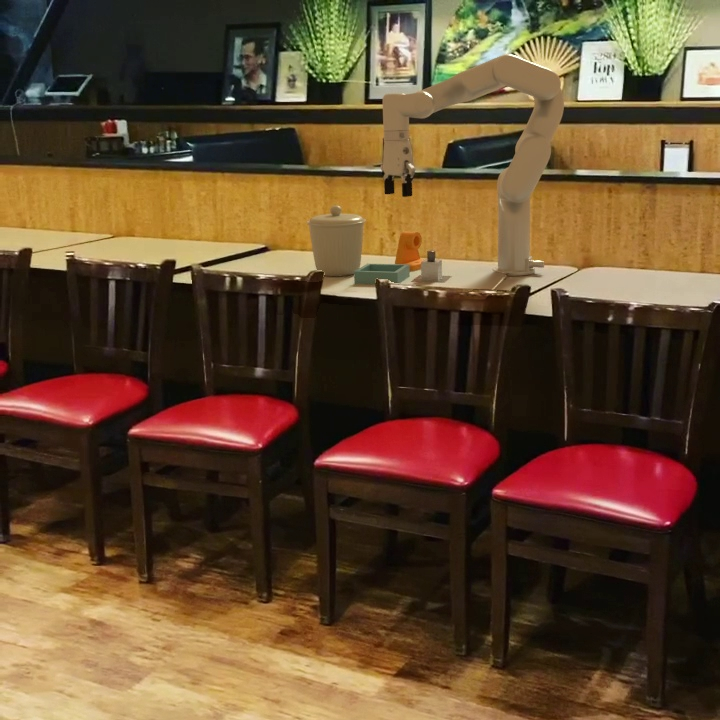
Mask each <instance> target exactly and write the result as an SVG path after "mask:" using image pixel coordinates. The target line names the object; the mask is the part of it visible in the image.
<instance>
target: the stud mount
mask: <svg viewBox="0 0 720 720" xmlns="http://www.w3.org/2000/svg"><path fill="white" fill-rule="evenodd" d="M452 277H453V275H442V278H441V279H439V280H438V281H434V280H421V274H420V275H418V276H416V277H415V278H414V279H412V280H411V281H410V282H411V283H413V282H414V283H439V284H440V283H441V284H442V283H443V284H444V283H446V282H447V281H448V280H450V279H451V278H452Z"/></svg>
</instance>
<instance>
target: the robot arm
mask: <svg viewBox="0 0 720 720" xmlns="http://www.w3.org/2000/svg"><path fill="white" fill-rule="evenodd" d="M561 82H562V81H561V78H560V76H559V75H558V74H557V73H556V72H555V71H554V70H552V69H549V68H547V67H544V66H541V65H539V64H536V63H534V62H530V61H529V60H526V59H523V58H522V57H519V56H517V55H514V54H510V53H507V54H503V55H500V56H497V57H495V58H492V59H489V60H487V61H485V62H482V63H480V64H478V65H476V66H474V67H473V66H472V67H471V68H469V69H465V70H463V71H461V72H458V73H457V74H455V75H453V76H451V77H450V78H449V77H448V79H445V80H442V81H441V82H438V83H436V84H433V85H431V86H429V87H426V88H424V89H422V90H421V89H420V90H419V91H416V92H412V93H401V92H400V93H399V92H398V93H396V92H395V93H386V94H384V95H383V97H382V121H383V126H382V127H383V155H382V158H383V159H382V160H383V161H382V164H380V170H381V176H382V179H383V181H384V182H383V183H384V187H383V188H384V195H393V194H395V180H394V177H400V179H401V180H402V183H401V197H403V198H407V197H412V196H413V182H414V178H415V174H416V168H415V166H414V158H413V157H414V155H413V148H412V144H411V143H412V142H411V140H410V118H414V119H426V118H428V117H430V116H431V115H432V114H433V113H436V112H438V111H441V110H444V109H447V108H448V107H452V106H455V105H457V104H461V103H467V102H470V101H473V100H476V99H478V98H480V97H483V96H485V95H487V94H490V93H492V92H495V91H498V90H499V89H503V88H505V87H508V88H511V89H513V90H516V91H518V92H521V93H522V94H525V95H528V96H531V97H533V102H534V106H533V110H532V112H531V115H530V116H529V119H528V121H527V124H526V126H525V127H524V130H523V131H522V134H521V135H520V137H519V139H518V140H517V142H516V145H515V148H514V149H515V150H514V151H515V154H514V156H513V158H512V160H511V161H510V163H509V166H508V167H506V168H505V169H503V170H502V171H501V172H500V174H499V175H498V178H497V183H496V189H497V190H496V194H497V195H496V196H497V266H495V267H493V268H492V271H493V272H495V273H501V274H504V276H508V277H513V276H514V277H515V276H516V277H517V276H520V277H521V276H527V275H532V274H534V273H535V272H536V269H535V268H542V269H543V268H545V261H543V260H534V259H533V256H532V255H531V254H530V253H531V251H530V250H531V245H530V242H531V240H530V239H531V196H532V194H533V193H534V191H535V188H536V186H537V185H538V183H539V181H540V179H541V177H542V175H543V174H544V171H545V169H546V167H547V165H548V163H549V161H550V158H551V156H552V155H551V153H552V147H551V143H552V140H553V138H554V136H555V134H556V132H557V129H558V128H559V125H560V123H561V121H562V118H563V115H564V107H565V101H564V94H563V90H562V88H561V85H562V83H561ZM530 255H531V256H530Z"/></svg>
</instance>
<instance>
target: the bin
mask: <svg viewBox="0 0 720 720" xmlns="http://www.w3.org/2000/svg"><path fill="white" fill-rule="evenodd" d="M410 273H411V272H410V270H409V265H407V264H395V263H366V264H364V265H363V266H360V268H359V269H358V270H356V271H354V274H353V277H354V285H358V284H359V285H376V284H375V279H376V278H378V279H388V280H390V281H391V282H394V283H400V284H401V283H403V282H404V281H405V280H407V279H408V278H409V277H410V275H411V274H410Z"/></svg>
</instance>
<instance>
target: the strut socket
mask: <svg viewBox="0 0 720 720" xmlns="http://www.w3.org/2000/svg"><path fill="white" fill-rule="evenodd" d="M426 256H427V257H426V258H425V260H423V261H422V262H421V269H420V275H421V280H434V281H438V280H439V279H441V278H442V276H443V259H441V258H440V259H438V258H437V259H436V250H427V251H426Z"/></svg>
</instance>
